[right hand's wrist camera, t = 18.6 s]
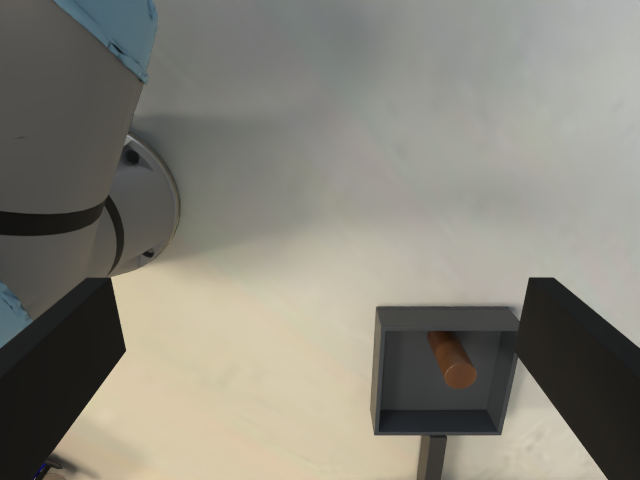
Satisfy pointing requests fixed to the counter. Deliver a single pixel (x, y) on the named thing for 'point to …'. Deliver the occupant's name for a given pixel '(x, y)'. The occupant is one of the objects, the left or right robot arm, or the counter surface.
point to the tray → (440, 377)
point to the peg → (452, 359)
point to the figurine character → (44, 478)
